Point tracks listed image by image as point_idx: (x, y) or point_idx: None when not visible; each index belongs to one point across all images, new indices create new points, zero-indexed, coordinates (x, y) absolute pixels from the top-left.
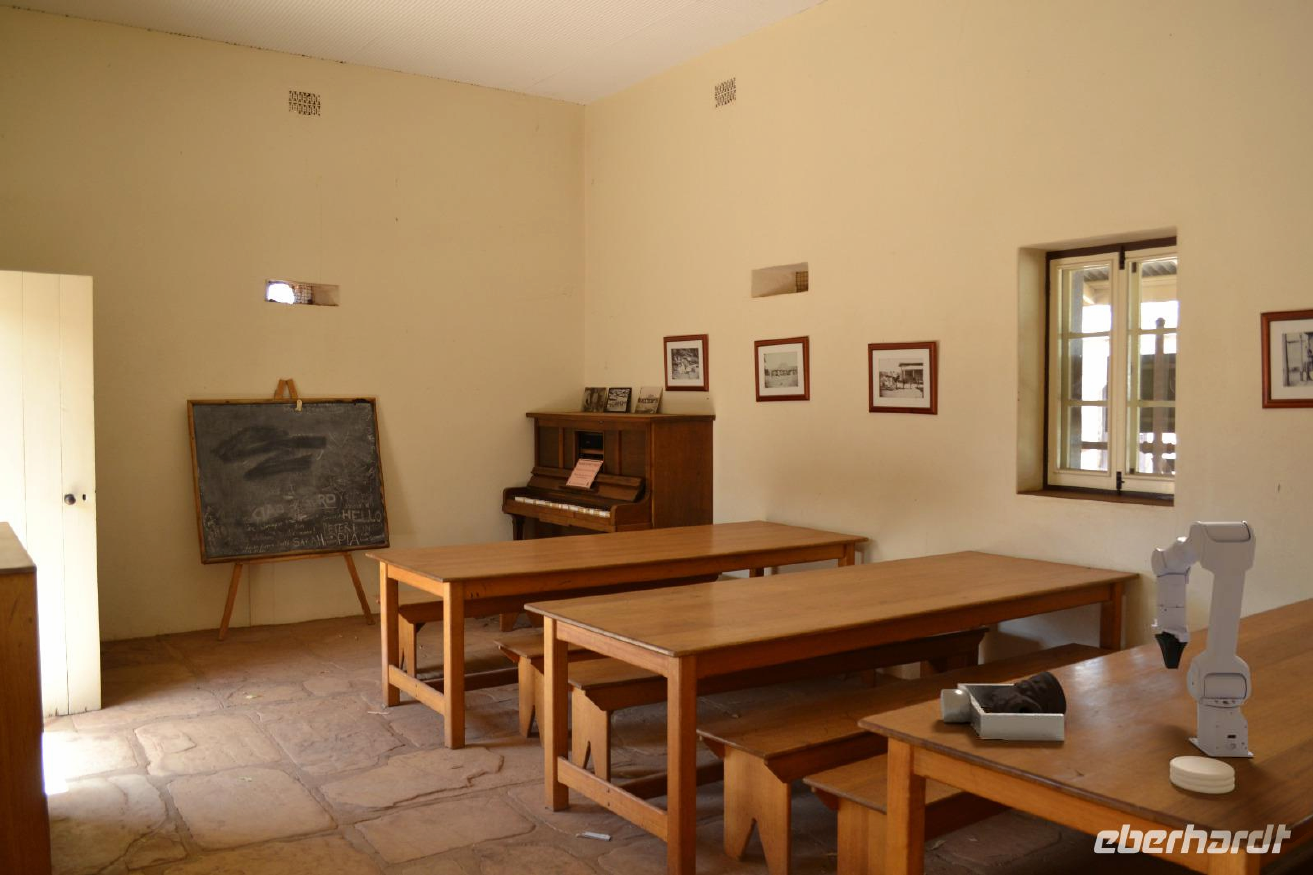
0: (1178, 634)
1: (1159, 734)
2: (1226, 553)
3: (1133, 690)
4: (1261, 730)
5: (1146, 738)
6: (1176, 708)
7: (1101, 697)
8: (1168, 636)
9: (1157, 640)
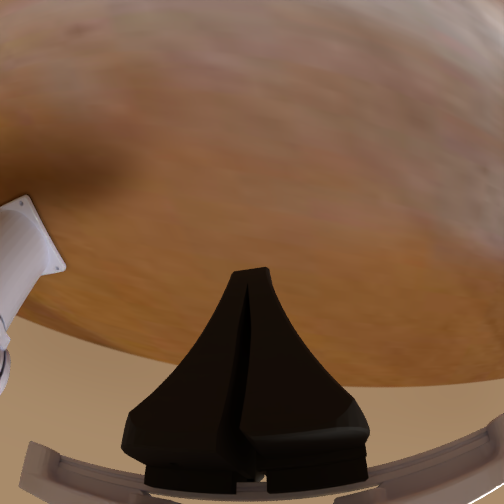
0: (36, 481)
1: (44, 133)
2: None
3: (485, 143)
4: (173, 327)
5: (10, 107)
6: (321, 207)
7: (417, 17)
8: (190, 469)
9: (314, 384)
